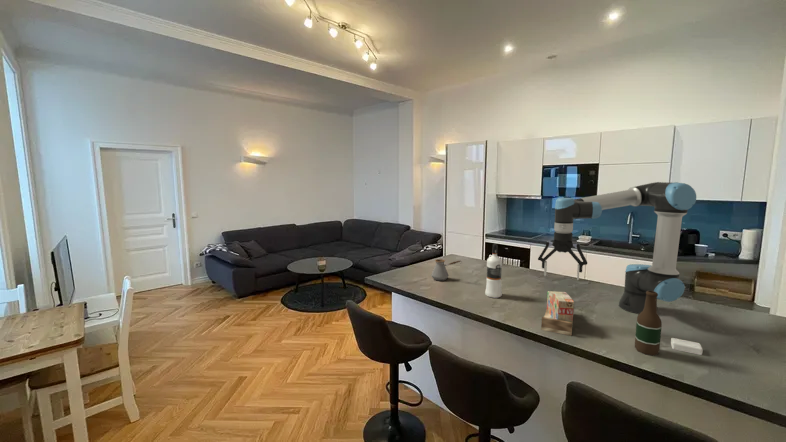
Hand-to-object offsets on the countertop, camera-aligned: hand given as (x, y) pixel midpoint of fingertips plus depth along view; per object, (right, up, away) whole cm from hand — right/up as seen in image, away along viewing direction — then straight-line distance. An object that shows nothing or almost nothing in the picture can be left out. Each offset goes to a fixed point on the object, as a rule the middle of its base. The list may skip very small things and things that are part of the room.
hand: (561, 277), depth 156 cm
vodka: (-20, -17, +38) cm, 46 cm away
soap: (+38, -25, -23) cm, 51 cm away
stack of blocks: (0, -20, +3) cm, 20 cm away
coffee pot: (-43, -14, +67) cm, 81 cm away
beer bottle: (+21, -25, -24) cm, 41 cm away
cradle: (0, -21, +3) cm, 22 cm away
